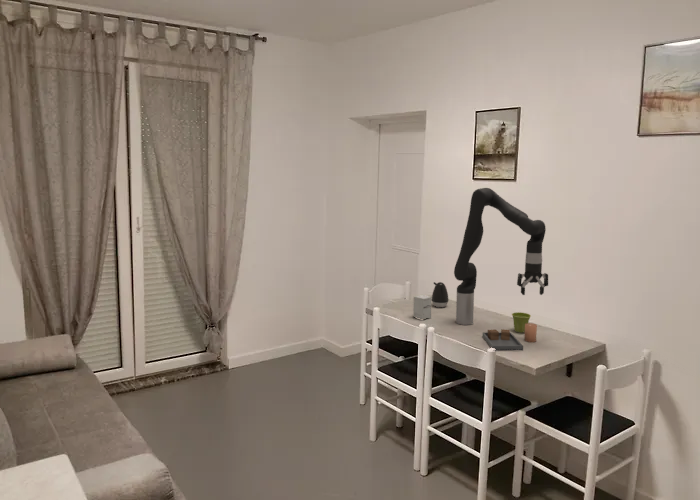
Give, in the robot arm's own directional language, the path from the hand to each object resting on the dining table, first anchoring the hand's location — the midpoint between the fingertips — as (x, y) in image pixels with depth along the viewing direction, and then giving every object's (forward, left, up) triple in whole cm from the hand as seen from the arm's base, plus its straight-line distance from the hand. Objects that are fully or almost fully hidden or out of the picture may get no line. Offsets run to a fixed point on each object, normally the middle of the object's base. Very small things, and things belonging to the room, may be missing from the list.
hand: (532, 294), depth 255 cm
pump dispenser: (-64, -34, -23) cm, 76 cm away
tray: (+4, -15, -23) cm, 28 cm away
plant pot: (-15, 0, -23) cm, 28 cm away
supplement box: (-39, -48, -23) cm, 66 cm away
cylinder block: (0, 0, -23) cm, 23 cm away
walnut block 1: (-1, -18, -23) cm, 29 cm away
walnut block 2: (-1, -12, -23) cm, 25 cm away
